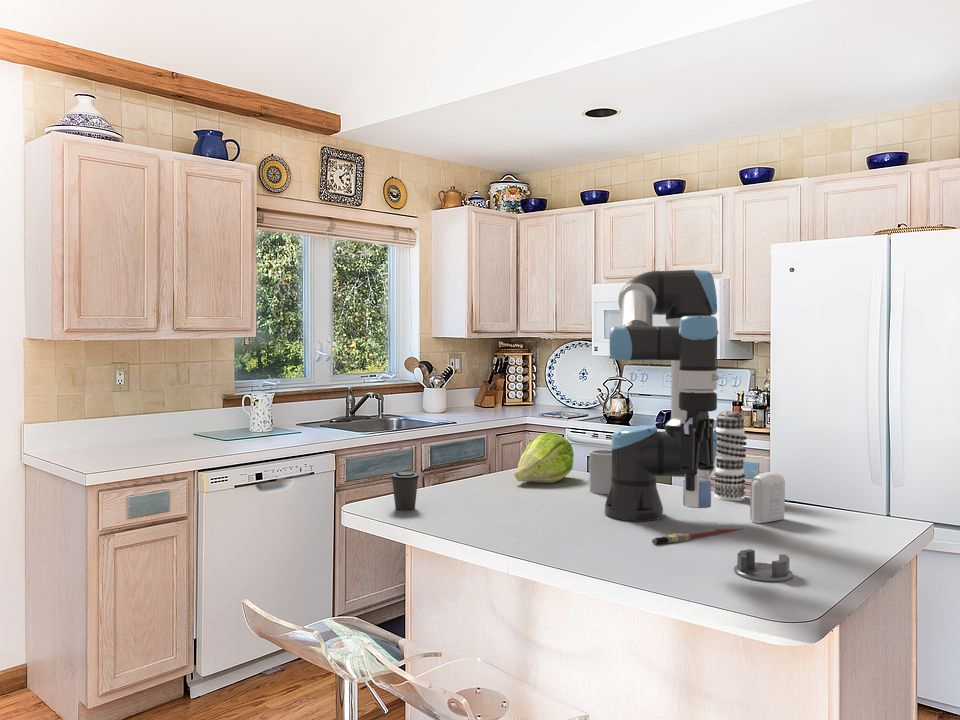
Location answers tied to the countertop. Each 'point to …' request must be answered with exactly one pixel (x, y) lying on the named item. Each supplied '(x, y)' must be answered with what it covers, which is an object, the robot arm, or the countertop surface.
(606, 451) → the cup
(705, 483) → the blue dome-topped cylinder
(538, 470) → the lettuce
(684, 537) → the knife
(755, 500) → the photo printer
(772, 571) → the disc
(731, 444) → the decorative candle
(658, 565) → the countertop surface
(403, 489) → the coffee cup
